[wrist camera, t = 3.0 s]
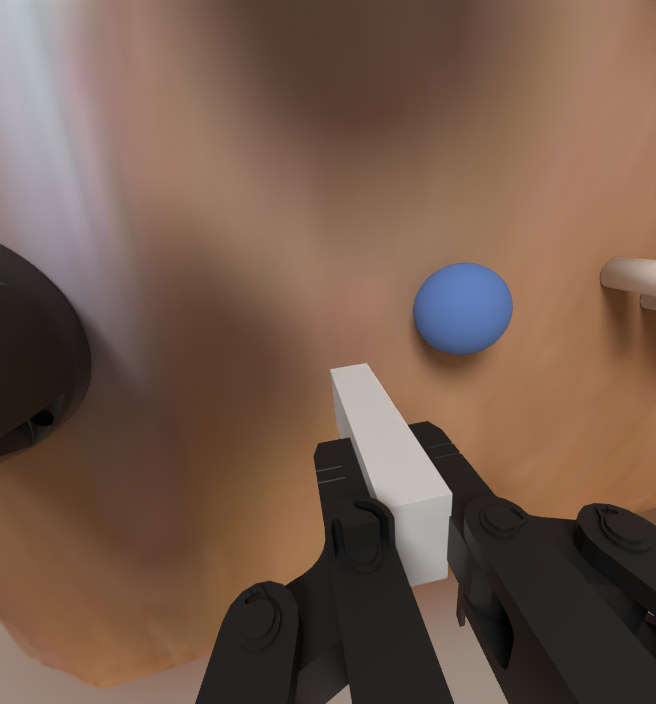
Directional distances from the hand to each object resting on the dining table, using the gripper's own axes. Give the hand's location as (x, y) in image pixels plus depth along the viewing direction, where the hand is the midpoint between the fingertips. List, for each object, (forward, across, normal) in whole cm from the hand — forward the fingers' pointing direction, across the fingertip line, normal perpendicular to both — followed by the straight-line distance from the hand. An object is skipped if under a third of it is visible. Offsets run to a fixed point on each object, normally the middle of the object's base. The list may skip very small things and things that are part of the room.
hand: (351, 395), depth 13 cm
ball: (+8, +9, 0) cm, 12 cm away
